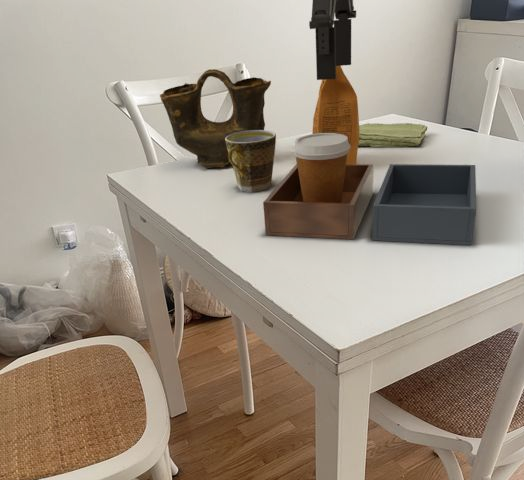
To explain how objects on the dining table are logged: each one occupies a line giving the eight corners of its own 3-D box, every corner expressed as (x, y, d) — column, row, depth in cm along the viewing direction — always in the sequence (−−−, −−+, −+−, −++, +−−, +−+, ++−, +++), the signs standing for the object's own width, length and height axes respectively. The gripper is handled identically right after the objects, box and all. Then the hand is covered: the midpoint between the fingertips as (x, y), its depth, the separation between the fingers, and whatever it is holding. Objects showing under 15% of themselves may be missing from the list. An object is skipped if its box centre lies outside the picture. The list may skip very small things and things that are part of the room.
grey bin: (470, 196, 97) (475, 164, 94) (470, 245, 80) (476, 208, 77) (388, 194, 101) (390, 164, 98) (371, 240, 84) (373, 205, 81)
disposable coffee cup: (311, 224, 90) (309, 150, 83) (286, 207, 98) (282, 138, 91) (360, 212, 93) (362, 139, 86) (332, 197, 100) (332, 129, 94)
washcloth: (422, 148, 125) (423, 133, 123) (346, 147, 130) (347, 133, 129) (427, 134, 135) (428, 120, 133) (357, 134, 140) (357, 121, 139)
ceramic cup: (246, 177, 117) (242, 128, 111) (287, 181, 112) (284, 131, 107) (213, 196, 108) (206, 145, 102) (255, 202, 103) (251, 148, 98)
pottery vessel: (276, 153, 131) (270, 61, 120) (275, 165, 122) (269, 68, 111) (175, 160, 133) (160, 71, 122) (167, 173, 124) (150, 78, 113)
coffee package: (355, 156, 124) (358, 47, 111) (359, 172, 113) (362, 54, 101) (312, 158, 125) (309, 51, 112) (312, 175, 114) (309, 58, 102)
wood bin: (372, 194, 102) (373, 164, 99) (353, 239, 85) (354, 205, 82) (297, 192, 106) (296, 163, 103) (265, 235, 89) (263, 202, 86)
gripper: (324, -93, 83) (327, 61, 95) (282, -109, 64) (292, 87, 76) (373, -100, 81) (370, 59, 93) (344, -118, 62) (345, 84, 74)
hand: (335, 72), depth 85 cm, fingers open, 13 cm apart
